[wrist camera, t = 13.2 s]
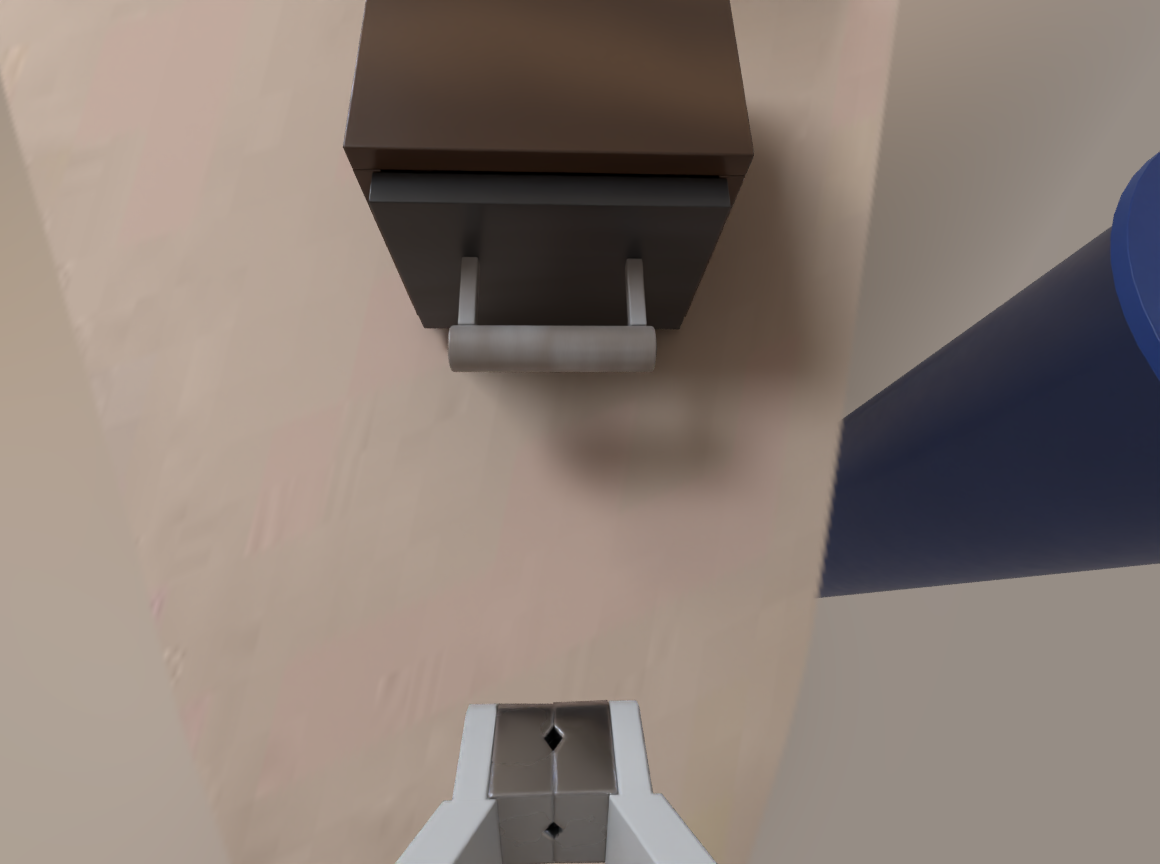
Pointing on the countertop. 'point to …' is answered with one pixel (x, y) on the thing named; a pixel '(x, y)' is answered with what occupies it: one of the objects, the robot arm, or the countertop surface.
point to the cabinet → (549, 89)
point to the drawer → (550, 262)
